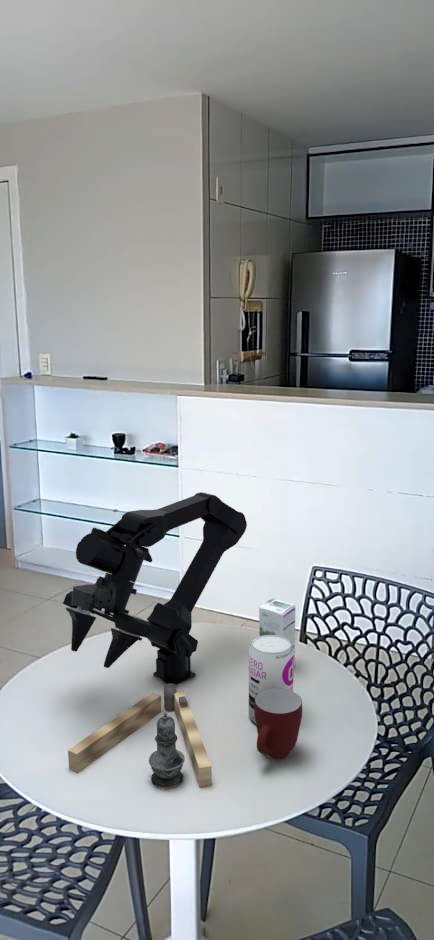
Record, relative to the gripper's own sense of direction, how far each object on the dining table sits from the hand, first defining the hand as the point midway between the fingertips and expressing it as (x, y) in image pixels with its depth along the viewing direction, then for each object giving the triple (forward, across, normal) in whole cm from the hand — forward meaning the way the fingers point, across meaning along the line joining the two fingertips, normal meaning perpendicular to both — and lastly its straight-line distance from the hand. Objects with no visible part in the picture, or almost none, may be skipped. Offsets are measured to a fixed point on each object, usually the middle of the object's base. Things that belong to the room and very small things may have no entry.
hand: (89, 659), depth 134 cm
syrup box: (-9, +15, +38) cm, 42 cm away
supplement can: (-1, +25, +25) cm, 36 cm away
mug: (+4, +33, +17) cm, 37 cm away
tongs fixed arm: (+7, +18, +11) cm, 23 cm away
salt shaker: (+12, +23, +4) cm, 26 cm away
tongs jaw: (+11, +8, +5) cm, 15 cm away
